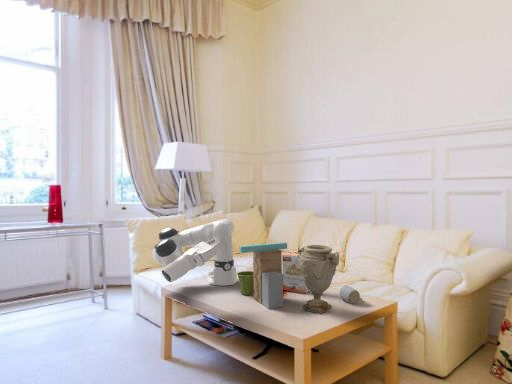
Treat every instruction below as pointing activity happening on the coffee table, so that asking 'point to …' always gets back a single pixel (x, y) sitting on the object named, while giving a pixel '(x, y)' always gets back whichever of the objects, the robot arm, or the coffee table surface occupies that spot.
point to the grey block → (272, 289)
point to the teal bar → (262, 247)
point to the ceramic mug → (349, 295)
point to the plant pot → (246, 282)
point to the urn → (317, 274)
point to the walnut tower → (265, 268)
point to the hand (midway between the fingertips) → (217, 241)
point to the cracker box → (292, 274)
